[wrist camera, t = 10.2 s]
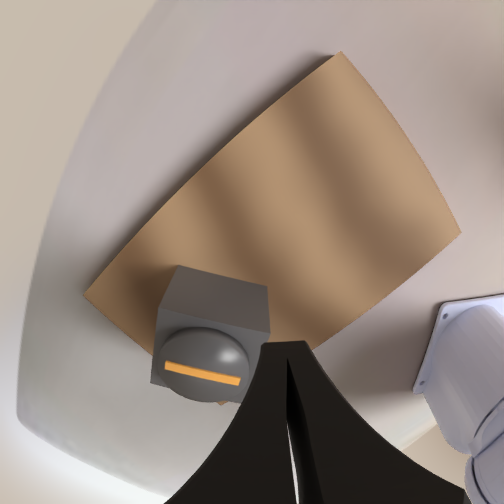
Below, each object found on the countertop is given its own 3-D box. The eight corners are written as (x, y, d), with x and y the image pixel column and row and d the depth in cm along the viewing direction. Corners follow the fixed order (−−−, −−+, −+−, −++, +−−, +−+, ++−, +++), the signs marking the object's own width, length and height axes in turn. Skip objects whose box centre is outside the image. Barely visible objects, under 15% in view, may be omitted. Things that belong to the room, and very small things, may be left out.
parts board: (335, 55, 15) (340, 50, 13) (452, 226, 18) (461, 232, 17) (90, 286, 20) (82, 295, 19) (222, 394, 24) (220, 405, 23)
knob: (267, 286, 19) (271, 346, 14) (244, 352, 21) (242, 416, 16) (178, 264, 18) (153, 318, 13) (167, 334, 20) (146, 394, 15)
